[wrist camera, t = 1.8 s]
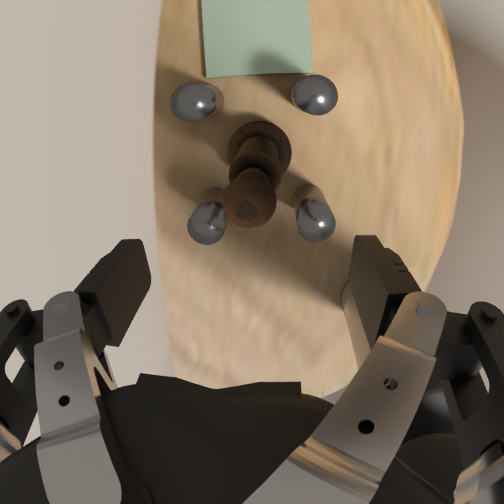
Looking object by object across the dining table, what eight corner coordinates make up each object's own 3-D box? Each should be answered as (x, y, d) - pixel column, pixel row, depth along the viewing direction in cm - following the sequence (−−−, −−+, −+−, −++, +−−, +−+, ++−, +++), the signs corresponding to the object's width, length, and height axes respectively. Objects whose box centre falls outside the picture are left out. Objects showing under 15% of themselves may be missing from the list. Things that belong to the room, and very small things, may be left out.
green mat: (304, -18, 21) (305, -20, 20) (312, 73, 26) (313, 73, 26) (202, -11, 22) (200, -13, 21) (208, 78, 27) (206, 78, 26)
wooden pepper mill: (244, 186, 33) (218, 277, 18) (220, 135, 30) (164, 181, 15) (299, 165, 32) (326, 240, 16) (276, 111, 29) (283, 128, 13)
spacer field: (323, 79, 26) (337, 75, 20) (323, 213, 34) (334, 241, 28) (189, 87, 28) (168, 85, 22) (204, 217, 35) (190, 245, 29)
